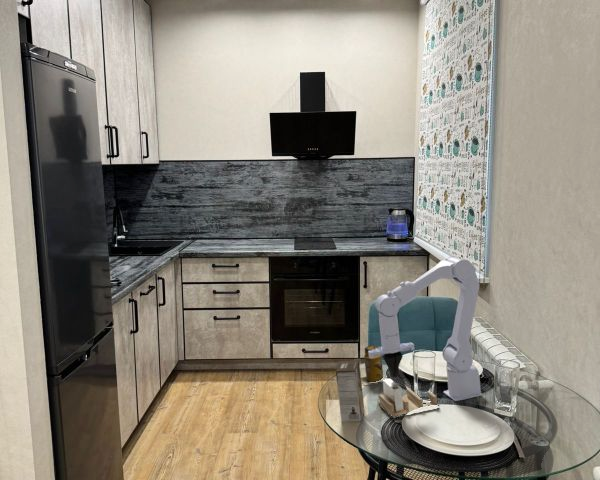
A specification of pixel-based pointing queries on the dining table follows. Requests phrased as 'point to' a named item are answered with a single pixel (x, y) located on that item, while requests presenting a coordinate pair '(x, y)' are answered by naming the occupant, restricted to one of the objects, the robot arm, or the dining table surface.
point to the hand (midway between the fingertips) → (394, 375)
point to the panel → (393, 394)
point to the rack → (406, 403)
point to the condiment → (372, 367)
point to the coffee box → (350, 390)
